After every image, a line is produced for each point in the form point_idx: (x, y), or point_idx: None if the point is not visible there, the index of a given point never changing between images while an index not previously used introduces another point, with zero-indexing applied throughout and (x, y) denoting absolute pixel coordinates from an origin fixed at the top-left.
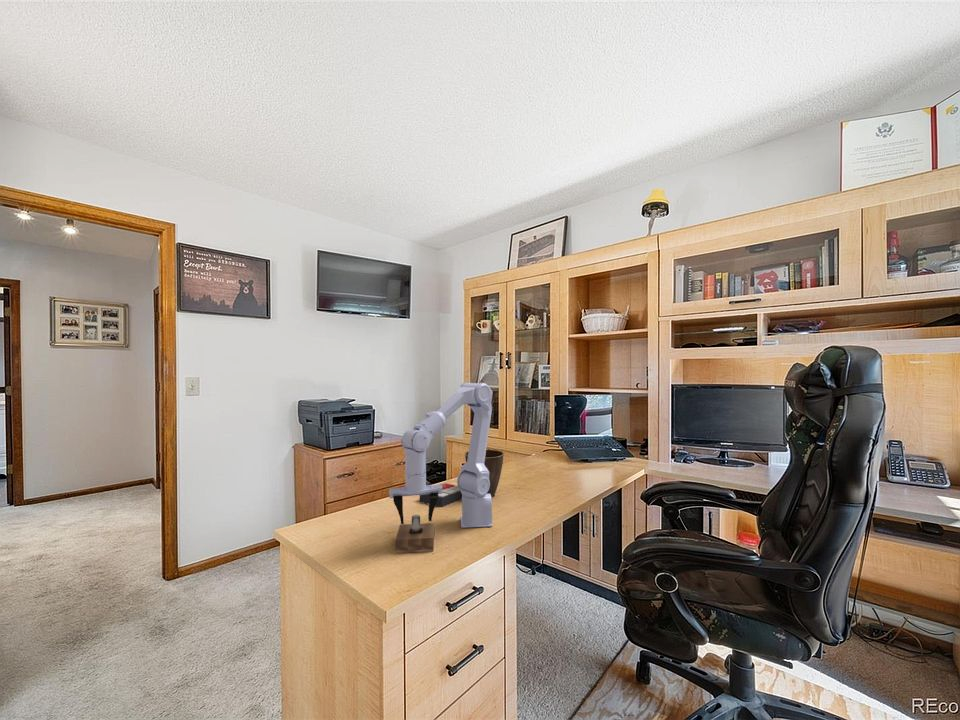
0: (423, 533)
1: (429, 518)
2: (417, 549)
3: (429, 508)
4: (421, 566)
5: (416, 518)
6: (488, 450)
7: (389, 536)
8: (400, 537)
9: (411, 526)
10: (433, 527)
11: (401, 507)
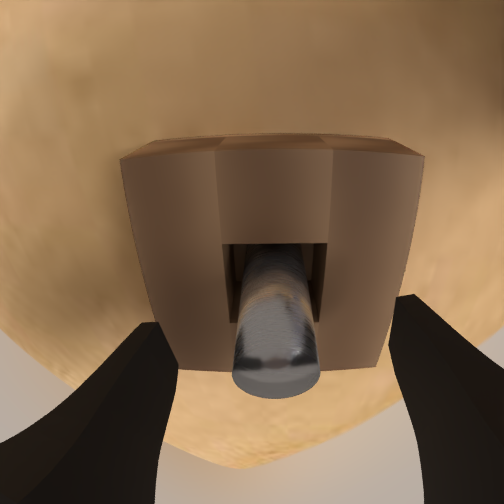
0: (328, 323)
1: (397, 367)
2: None
3: (427, 420)
4: (304, 398)
5: (284, 397)
6: None
7: (93, 139)
8: (189, 353)
9: (227, 204)
10: (407, 240)
11: (144, 500)
